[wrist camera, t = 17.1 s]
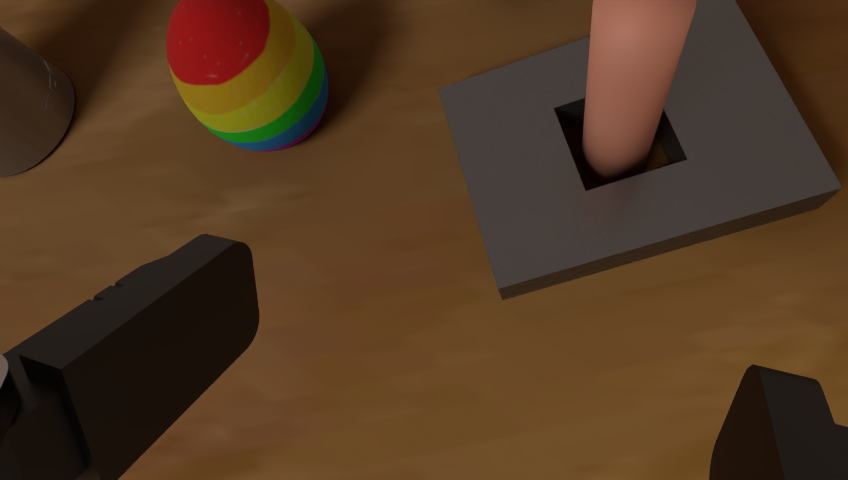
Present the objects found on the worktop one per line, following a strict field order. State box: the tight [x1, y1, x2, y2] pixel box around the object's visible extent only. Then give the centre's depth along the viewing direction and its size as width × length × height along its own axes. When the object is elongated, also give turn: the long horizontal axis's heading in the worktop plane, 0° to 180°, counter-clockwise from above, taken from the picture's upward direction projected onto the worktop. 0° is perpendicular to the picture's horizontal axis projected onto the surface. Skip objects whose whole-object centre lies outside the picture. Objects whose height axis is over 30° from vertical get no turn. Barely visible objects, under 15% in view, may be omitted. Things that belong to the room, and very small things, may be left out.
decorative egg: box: [167, 0, 329, 152], centre depth 32 cm, size 8×8×10 cm
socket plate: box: [438, 0, 842, 300], centre depth 30 cm, size 16×12×2 cm
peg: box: [581, 0, 697, 185], centre depth 25 cm, size 3×3×12 cm
